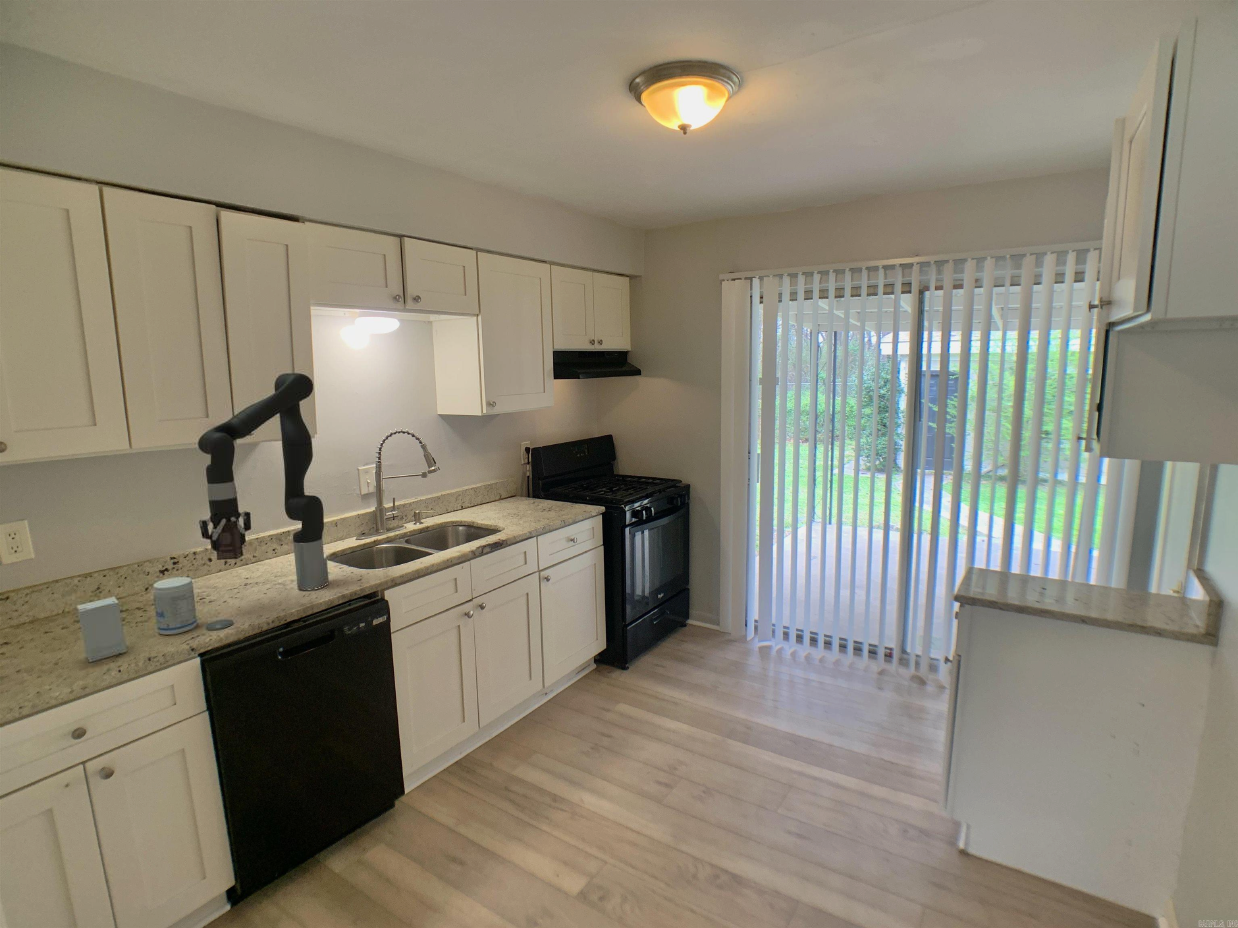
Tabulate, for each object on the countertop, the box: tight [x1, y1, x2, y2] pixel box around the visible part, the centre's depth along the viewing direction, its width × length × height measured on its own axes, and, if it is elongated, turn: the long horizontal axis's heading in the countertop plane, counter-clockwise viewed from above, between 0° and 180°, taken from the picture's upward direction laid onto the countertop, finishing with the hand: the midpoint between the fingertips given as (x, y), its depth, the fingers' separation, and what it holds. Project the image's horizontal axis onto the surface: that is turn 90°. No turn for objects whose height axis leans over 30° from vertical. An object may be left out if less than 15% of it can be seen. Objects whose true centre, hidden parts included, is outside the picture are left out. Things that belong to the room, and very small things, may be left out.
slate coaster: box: [205, 618, 234, 632], centre depth 183 cm, size 7×7×1 cm
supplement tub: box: [152, 576, 198, 636], centre depth 180 cm, size 10×10×15 cm
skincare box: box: [76, 596, 128, 663], centre depth 164 cm, size 8×6×15 cm
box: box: [212, 519, 244, 561], centre depth 191 cm, size 6×4×12 cm
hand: (229, 547), depth 191 cm, fingers closed on box, 7 cm apart
